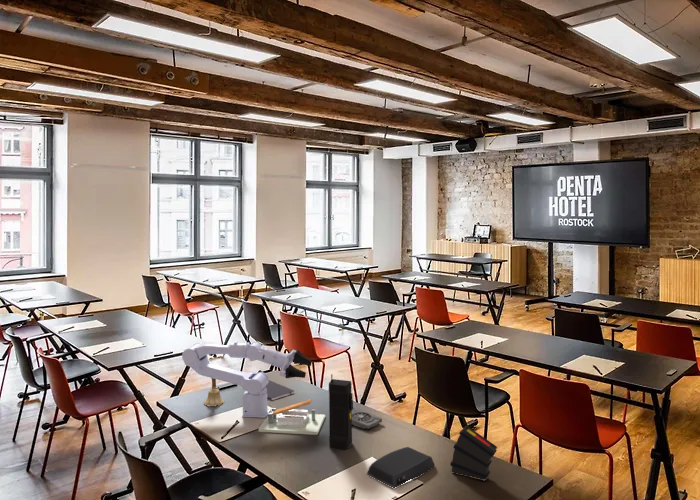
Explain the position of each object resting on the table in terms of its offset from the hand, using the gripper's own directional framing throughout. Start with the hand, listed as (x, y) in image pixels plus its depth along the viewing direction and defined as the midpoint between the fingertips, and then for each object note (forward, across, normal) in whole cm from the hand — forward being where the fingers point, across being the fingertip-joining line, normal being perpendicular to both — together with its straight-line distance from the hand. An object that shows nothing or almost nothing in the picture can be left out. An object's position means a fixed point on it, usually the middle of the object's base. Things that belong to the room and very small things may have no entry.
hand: (308, 369), depth 206 cm
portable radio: (+22, -26, +6) cm, 34 cm away
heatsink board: (+1, -14, +16) cm, 21 cm away
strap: (-1, -12, +11) cm, 16 cm away
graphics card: (+24, -7, +12) cm, 28 cm away
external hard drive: (+42, -37, -4) cm, 56 cm away
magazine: (+63, -36, -11) cm, 73 cm away
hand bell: (-36, -2, +32) cm, 48 cm away
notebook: (-18, +16, +33) cm, 41 cm away
